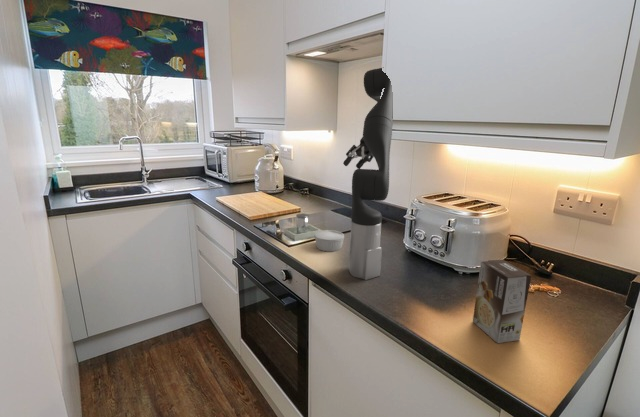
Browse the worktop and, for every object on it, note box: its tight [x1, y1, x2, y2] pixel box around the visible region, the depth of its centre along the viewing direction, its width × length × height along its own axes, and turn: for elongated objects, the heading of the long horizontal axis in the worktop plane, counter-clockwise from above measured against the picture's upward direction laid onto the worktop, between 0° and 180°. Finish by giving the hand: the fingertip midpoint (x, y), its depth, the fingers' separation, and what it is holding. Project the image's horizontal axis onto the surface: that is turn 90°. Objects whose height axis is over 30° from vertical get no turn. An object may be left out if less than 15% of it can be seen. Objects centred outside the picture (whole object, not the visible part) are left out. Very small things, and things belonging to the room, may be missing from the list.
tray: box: [283, 223, 322, 242], centre depth 143 cm, size 10×13×2 cm
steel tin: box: [295, 213, 310, 234], centre depth 143 cm, size 5×5×8 cm
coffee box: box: [472, 259, 532, 344], centre depth 79 cm, size 9×6×16 cm
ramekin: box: [314, 229, 345, 253], centre depth 130 cm, size 11×11×5 cm
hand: (350, 166), depth 144 cm, fingers open, 8 cm apart
